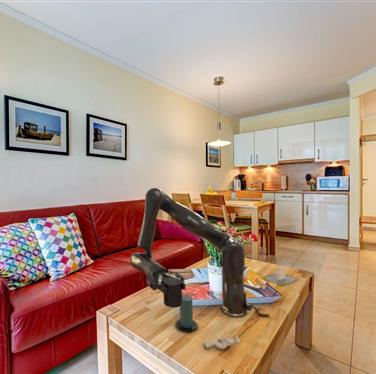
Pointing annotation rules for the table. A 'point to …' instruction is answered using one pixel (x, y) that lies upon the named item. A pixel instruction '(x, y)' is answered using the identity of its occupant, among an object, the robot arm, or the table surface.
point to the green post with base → (186, 315)
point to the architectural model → (280, 277)
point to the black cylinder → (173, 292)
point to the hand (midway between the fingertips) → (175, 289)
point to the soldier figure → (224, 342)
